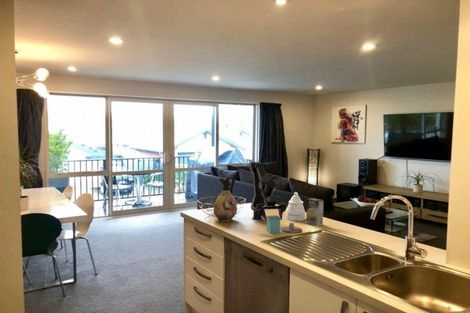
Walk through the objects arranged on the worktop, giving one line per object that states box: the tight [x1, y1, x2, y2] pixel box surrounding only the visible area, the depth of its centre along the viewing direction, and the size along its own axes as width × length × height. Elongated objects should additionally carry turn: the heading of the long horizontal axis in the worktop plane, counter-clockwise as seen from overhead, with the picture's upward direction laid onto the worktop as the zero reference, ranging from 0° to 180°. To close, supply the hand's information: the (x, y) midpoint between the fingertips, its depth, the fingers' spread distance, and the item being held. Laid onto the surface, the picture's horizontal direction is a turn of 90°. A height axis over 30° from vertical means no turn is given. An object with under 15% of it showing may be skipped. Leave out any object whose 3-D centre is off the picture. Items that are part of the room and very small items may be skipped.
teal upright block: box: [266, 215, 281, 234], centre depth 203 cm, size 6×6×9 cm
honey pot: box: [285, 192, 306, 222], centre depth 237 cm, size 13×13×18 cm
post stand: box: [280, 222, 303, 234], centre depth 206 cm, size 12×12×4 cm
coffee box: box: [305, 197, 324, 227], centre depth 222 cm, size 9×6×16 cm
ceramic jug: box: [213, 175, 238, 223], centre depth 229 cm, size 17×15×30 cm
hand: (274, 220), depth 202 cm, fingers open, 9 cm apart
